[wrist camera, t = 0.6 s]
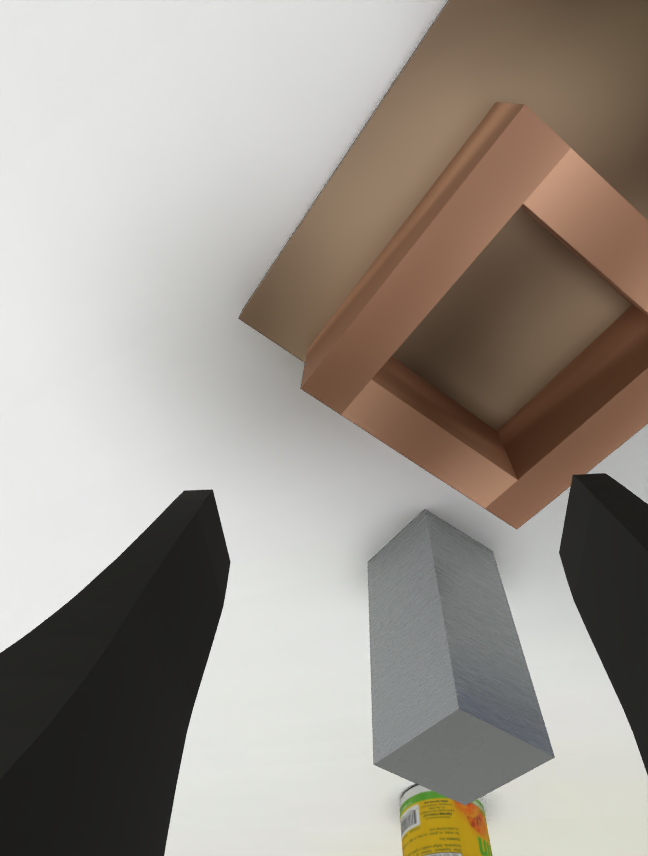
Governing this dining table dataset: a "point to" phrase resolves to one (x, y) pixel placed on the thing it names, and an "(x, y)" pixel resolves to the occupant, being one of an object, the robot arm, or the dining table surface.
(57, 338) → the dining table surface
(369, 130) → the socket station
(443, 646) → the steel peg
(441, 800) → the supplement bottle
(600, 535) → the robot arm
